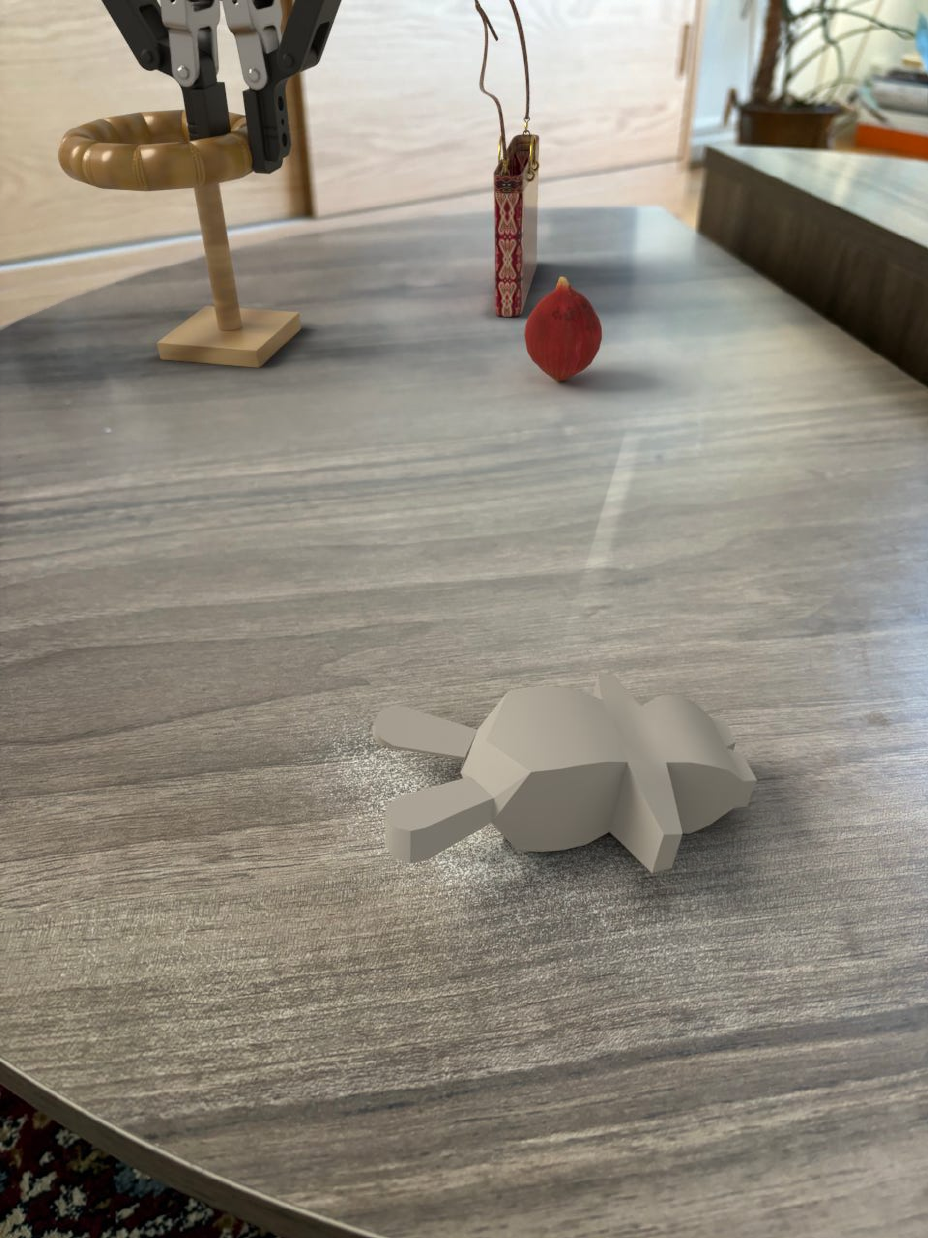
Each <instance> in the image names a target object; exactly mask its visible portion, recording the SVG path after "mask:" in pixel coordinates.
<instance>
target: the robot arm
mask: <svg viewBox="0 0 928 1238" xmlns="http://www.w3.org/2000/svg"><path fill="white" fill-rule="evenodd" d="M100 1H101V2H102V5H104V8H105V9H106V11H107V12H108V14H109V15H110V18H111V19H112V21H113V22H114V25H115V26H116V27H117V29H118V31H119V33H120V34H121V36H122V37H123V39H124V41H125V42H126V44H127V46H128V47H129V49H130V51H131V53H132V54H133V56H134V57H135V59H136V61H137V63H138V65H139V66H140V67H141V68H142V69H144V70H145V71H148V72H153V71H158V72H160V73H163V74H165V75H166V76H169V77H171V78H172V79H174V81H176V83H177V84H178V85H179V87H180V90H181V93H182V94H181V95H182V99H183V105H184V106H183V107H184V110H185V113H186V119H187V123H188V131H189V137H190V141H195V140H200V139H205V138H211V137H216V136H222V135H226V134H228V133H230V132H231V125H230V118H229V112H230V111H229V103H228V97H227V89H226V82H225V81H218V74H219V72H220V60H219V46H218V44H219V43H218V26H219V24H220V21H221V2H222V7H223V12H224V17H225V21H226V26H227V28H228V30H229V32H230V33H231V34H232V35H233V36H234V39H235V44H236V49H237V55H238V60H239V64H240V69H241V74H242V78H243V81H244V83H245V84H246V86H247V87H248V88H247V89H244V90H242V100H243V108H244V115H245V116H246V124H247V132H248V139H249V147H250V151H251V154H252V168H253V171H254V172H253V173H255V174H262V175H263V174H264V175H271V174H272V173H274V172H276V171H277V170H280V169H281V168H282V167H283V164H284V159H285V158H287V157H288V156H289V155H290V152H291V148H292V138H291V137H292V136H291V130H290V122H289V121H290V120H289V119H290V118H289V110H288V109H289V108H288V101H287V90H286V89H287V84H288V81H290V78H292V77H293V76H295V75H298V74H300V73H302V72H305V71H308V70H309V69H311V68H314V67H316V66H317V65H318V64H319V63H320V62H321V59H322V56H323V53H324V51H325V47H326V45H327V42H328V39H329V37H330V33H331V31H332V28H333V27H334V22H335V20H336V17H337V14H338V12H339V9H340V6H341V3H342V0H294V1H293V4H292V7H291V10H290V13H289V16H288V18H287V22H286V24H285V28H284V31H283V35H282V28H281V27H282V26H281V25H282V22H283V9H282V3H281V0H159V1H158V0H100ZM159 2H160V3H159Z"/></svg>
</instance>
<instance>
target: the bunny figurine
mask: <svg viewBox="0 0 928 1238" xmlns="http://www.w3.org/2000/svg"><path fill="white" fill-rule="evenodd" d="M593 688H594V689H593V693H592V694H590V693H588V692H586V691H583V690H581V689H577V688H569V687H561V686H530V687H524V688H517V689H512V690H508V691H506V693H504V695H503V697H502V698H501V699H500V700H499V702H498V703H497V704H496V706H495V707H494V708H493V709H492V711H491V712H490V713H489V715H488V716H487V717H486V718H485V720H484V721H483V722H482V723H481V725H479V727H478V728H477V729H476V728H473V727H471V726H468V725H465V724H461V723H458V722H455V721H453V720H449V719H446V718H443V717H440V716H436V715H433V714H430V713H427V712H423V711H421V710H417V709H413V708H411V707H405V706H399V705H394V704H393V705H391V706H388V707H385V708H384V709H382V710H380V711H379V712H378V714H377V716H376V718H375V720H374V721H373V726H372V732H371V733H372V737H373V739H374V741H375V742H376V743H377V744H378V745H379V746H382V747H385V748H388V749H391V750H397V751H402V752H403V751H404V752H410V753H417V754H424V755H429V756H435V757H441V758H448V759H454V760H459V761H462V763H461V767H460V775H461V776H462V777H461V778H459V779H456V780H452V781H449V782H445V783H442V784H439V785H434V786H431V787H427V788H424V789H423V788H422V789H421V790H417V791H413V792H409V793H406V794H402V795H399V796H398V797H396V798H395V799H393V800H392V801H390V802H388V804H387V806H386V808H385V811H384V846H385V848H386V850H387V851H388V853H389V854H390V855H391V856H392V858H393V859H395V860H398V861H401V862H404V863H407V864H409V865H411V864H416V863H419V862H423V861H428V860H430V859H432V858H433V857H436V856H437V855H439V854H440V853H442V852H444V851H445V850H447V849H449V848H452V847H453V846H454V845H456V844H458V843H459V842H461V841H463V840H465V839H467V838H468V837H470V836H471V835H473V834H474V833H477V832H478V831H480V830H482V829H483V828H485V827H487V826H488V825H490V824H492V825H493V826H494V827H495V829H496V830H498V832H499V833H500V834H501V835H503V837H504V838H505V839H506V840H507V842H508V843H509V844H510V845H512V847H513V848H514V849H515V850H516V851H520V852H521V851H523V852H535V853H542V852H543V853H544V852H557V851H565V850H569V849H573V848H578V847H582V846H586V845H589V844H590V843H593V842H594V841H595V840H597V839H599V838H601V837H603V836H605V835H606V834H608V833H610V834H611V835H612V836H613V837H614V838H615V839H616V840H617V841H618V842H620V844H622V846H624V847H625V849H626V850H628V851H629V852H630V853H631V854H632V855H633V856H634V857H635V858H636V859H637V860H638V861H639V862H640V863H641V864H642V865H643V866H644V867H645V868H646V869H647V870H648V871H649V872H650V873H651V874H653V873H657V872H661V871H666V870H670V869H672V868H673V865H674V863H675V860H676V856H677V853H678V850H679V847H680V844H681V840H682V837H683V834H688V835H690V834H692V833H695V832H697V831H700V830H701V829H704V828H706V827H708V826H711V825H712V824H714V823H715V822H717V821H718V820H719V819H721V818H722V817H723V816H725V815H726V814H728V813H729V812H730V811H732V810H733V809H737V808H748V805H749V803H750V800H751V798H752V795H753V793H754V789H755V786H756V784H757V781H758V780H757V778H756V775H755V774H754V772H753V770H752V769H751V766H750V765H749V763H748V761H747V759H746V757H745V756H744V754H743V752H741V751H739V750H736V749H735V746H736V743H737V740H736V738H735V736H734V735H733V733H732V730H731V729H730V727H729V725H728V723H727V722H726V720H725V717H724V716H723V715H719V716H718V715H717V716H713V715H711V716H710V715H709V714H708V713H706V711H705V710H704V709H702V708H701V706H699V705H698V703H696V702H695V701H693V700H691V699H688V698H686V697H684V696H682V695H680V694H677V693H676V694H662V695H661V694H660V695H658V696H656V697H655V698H653V699H651V700H650V701H649V700H648V702H646V703H644V704H642V705H641V704H640V703H639V702H638V701H637V700H636V699H635V697H634V696H633V695H632V694H631V693H630V691H629V690H628V689H627V687H625V685H624V684H623V683H622V682H621V681H620V679H619V678H618V677H617V675H615V674H611V673H605V672H599V671H598V672H597V675H596V679H595V683H594V687H593Z"/></svg>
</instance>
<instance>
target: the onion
mask: <svg viewBox="0 0 928 1238" xmlns="http://www.w3.org/2000/svg"><path fill="white" fill-rule="evenodd" d="M555 285H556V286H555V289H554V290H553V291H551V292H550V293H548V294H547V295H545V296H544V297H543V298H542V299H540V301H539V302H537V304H536V305H535V307H534V308H533V309H532V310H531V312H530V314H529V315H528V317H527V320H526V323H525V326H524V334H523V335H524V341H525V347H526V352H527V354H528V356H529V357H530V359H531V360H532V362H533V363H534V364H535V365H537V367H538V368H539V369H540V370H541V371H542V372H544V373H545V374H546V375H547V376H548V377H550V378H551V379H553V380H554V381H555V382H556V383H557V382H558V383H561V382H565V381H567V380H569V379H570V378H572V377H574V376H575V375H577V374H579V373H581V372H582V371H584V370H585V369H586V368H588V367H589V366H590V365H591V364H592V363H593V361H594V359H595V357H596V356H597V354H598V353H599V351H600V348H601V344H602V341H603V340H602V339H603V327H602V324H601V320H600V318H599V316H598V314H597V312H596V311H595V309H594V307H593V305H592V303H591V302H590V301H589V300H588V298H587V297H586V296H584V295H583V294H582V293H580V292H579V291H577V290H575V288H574V287H573V286H572V284H570V282H569V280H568V278H567V277H565V276H559V277H558V281H557V283H556V284H555Z"/></svg>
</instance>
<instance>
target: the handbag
mask: <svg viewBox="0 0 928 1238" xmlns="http://www.w3.org/2000/svg"><path fill="white" fill-rule="evenodd" d="M508 1H509V5H510V7H511V9H512V13H513V15H514V19H515V22H516V27H517V31H518V36H519V42H520V46H521V47H520V48H521V52H522V60H523V61H522V62H523V67H524V68H523V69H524V77H525V78H524V79H525V99H526V100H525V115H524V117H523V122H524V123H523V124H524V125H523V126H524V130H523V131H522V134H516V135H514V136H513V137H512V139H511V140H510V143H509V144H508V146H507V141H506V130H505V123H504V122H505V121H504V116H503V109H502V105H501V103H500V101H499V99H498V98H497V97H496V96H495V95H494V94H492V93H490V92H488V91H487V90H486V89H485V83H484V82H485V76H486V69H487V61H488V53H489V52H488V51H489V30H490V32H491V35H492V37H493V39H494V40H495V42H498V41H499V37H498V34H497V33H496V31H495V29H494V27H493V24H492V23H491V20H490V19H489V16H488V15H487V13H486V12H485V10H484V9H483V8H482V6H481V3H480V1H479V0H474V7H475V10H476V12H477V13H478V14H479V16H480V18H481V21H482V24H483V30H484V48H483V49H484V51H483V59H482V65H481V66H482V67H481V69H480V70H481V71H480V76H479V83H478V87H479V90H480V92H482V93H483V94H484V95H487V96H488V97H490V98H491V99H492V100H493V101H494V103H495V106H496V108H497V112H498V118H499V126H500V127H499V128H500V136H499V138H498V139H499V140H498V149H497V166H496V167H495V168H494V171H493V175H492V176H493V218H494V219H493V221H494V223H493V226H494V228H493V229H494V314H495V315H496V316H498V317H501V318H502V317H503V318H504V317H505V318H516V317H520V316H521V315H522V313H523V312H524V308H525V304H526V301H527V298H528V295H529V291H530V288H531V285H532V283H533V279H534V276H535V273H536V270H537V267H538V210H539V208H538V207H539V169H540V163H539V162H540V135H538V134H533V133H532V134H531V132H530V131H529V129H528V127H529V122H530V120H531V118H530V101H531V100H530V98H531V97H530V93H531V92H530V73H529V61H528V54H527V53H528V52H527V48H526V47H527V46H526V40H525V34H524V28H523V24H522V21H521V17H520V12H519V10H518V7H517V5H516V2H515V0H508ZM501 155H502V157H501Z"/></svg>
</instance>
